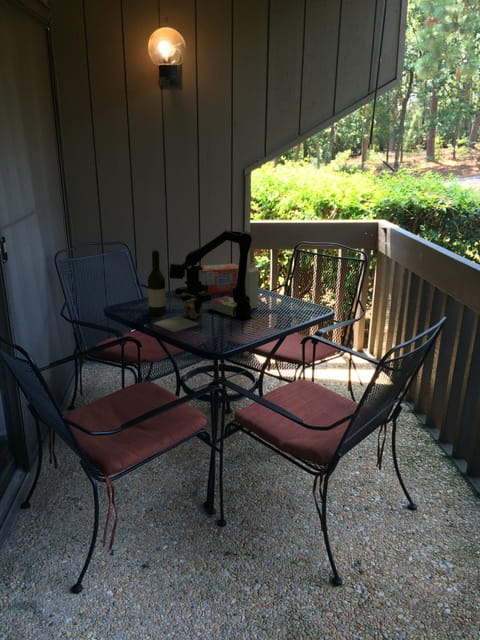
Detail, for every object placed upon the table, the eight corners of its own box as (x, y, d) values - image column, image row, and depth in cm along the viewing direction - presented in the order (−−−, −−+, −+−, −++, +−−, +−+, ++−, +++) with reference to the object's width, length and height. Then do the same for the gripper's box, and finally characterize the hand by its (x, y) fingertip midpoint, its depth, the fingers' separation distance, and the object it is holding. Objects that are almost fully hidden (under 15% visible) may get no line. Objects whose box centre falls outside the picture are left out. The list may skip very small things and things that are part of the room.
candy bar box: (225, 295, 246) (250, 302, 236) (225, 304, 248) (249, 312, 237) (209, 299, 238) (233, 307, 228) (209, 309, 240) (233, 317, 230)
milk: (257, 307, 244) (259, 264, 237) (248, 310, 240) (250, 265, 233) (248, 304, 248) (250, 261, 241) (240, 307, 244) (241, 263, 237)
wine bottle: (162, 316, 228) (160, 252, 218) (145, 315, 230) (143, 251, 220) (168, 311, 236) (167, 248, 226) (152, 309, 237) (150, 247, 227)
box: (233, 285, 283) (234, 262, 278) (243, 291, 272) (243, 266, 268) (189, 290, 272) (188, 265, 267) (197, 296, 261) (197, 270, 257)
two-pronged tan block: (202, 315, 230) (202, 301, 227) (192, 318, 225) (192, 304, 223) (193, 312, 233) (193, 298, 231) (183, 315, 229) (183, 301, 227)
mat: (198, 324, 219) (198, 323, 219) (174, 332, 209) (174, 331, 209) (177, 317, 228) (177, 315, 228) (153, 324, 218) (153, 322, 218)
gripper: (220, 280, 224) (219, 312, 229) (192, 272, 235) (192, 304, 240) (202, 284, 216) (202, 318, 221) (174, 276, 227) (174, 308, 233)
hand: (193, 312), depth 229 cm, fingers closed on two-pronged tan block, 6 cm apart
